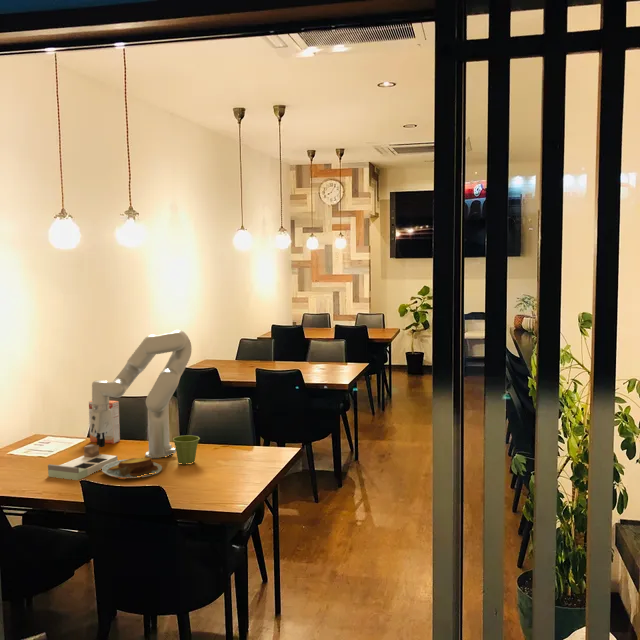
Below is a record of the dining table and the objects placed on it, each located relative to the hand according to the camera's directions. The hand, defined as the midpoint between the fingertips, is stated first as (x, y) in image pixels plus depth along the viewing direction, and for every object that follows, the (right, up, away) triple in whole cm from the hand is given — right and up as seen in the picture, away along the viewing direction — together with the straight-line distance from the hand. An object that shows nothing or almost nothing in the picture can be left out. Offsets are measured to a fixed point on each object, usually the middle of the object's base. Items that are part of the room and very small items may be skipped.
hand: (100, 446), depth 305 cm
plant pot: (+41, -6, -8) cm, 43 cm away
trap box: (-2, -7, -17) cm, 18 cm away
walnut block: (-2, -3, -7) cm, 8 cm away
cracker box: (-8, -3, +29) cm, 31 cm away
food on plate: (+21, -8, -22) cm, 31 cm away
